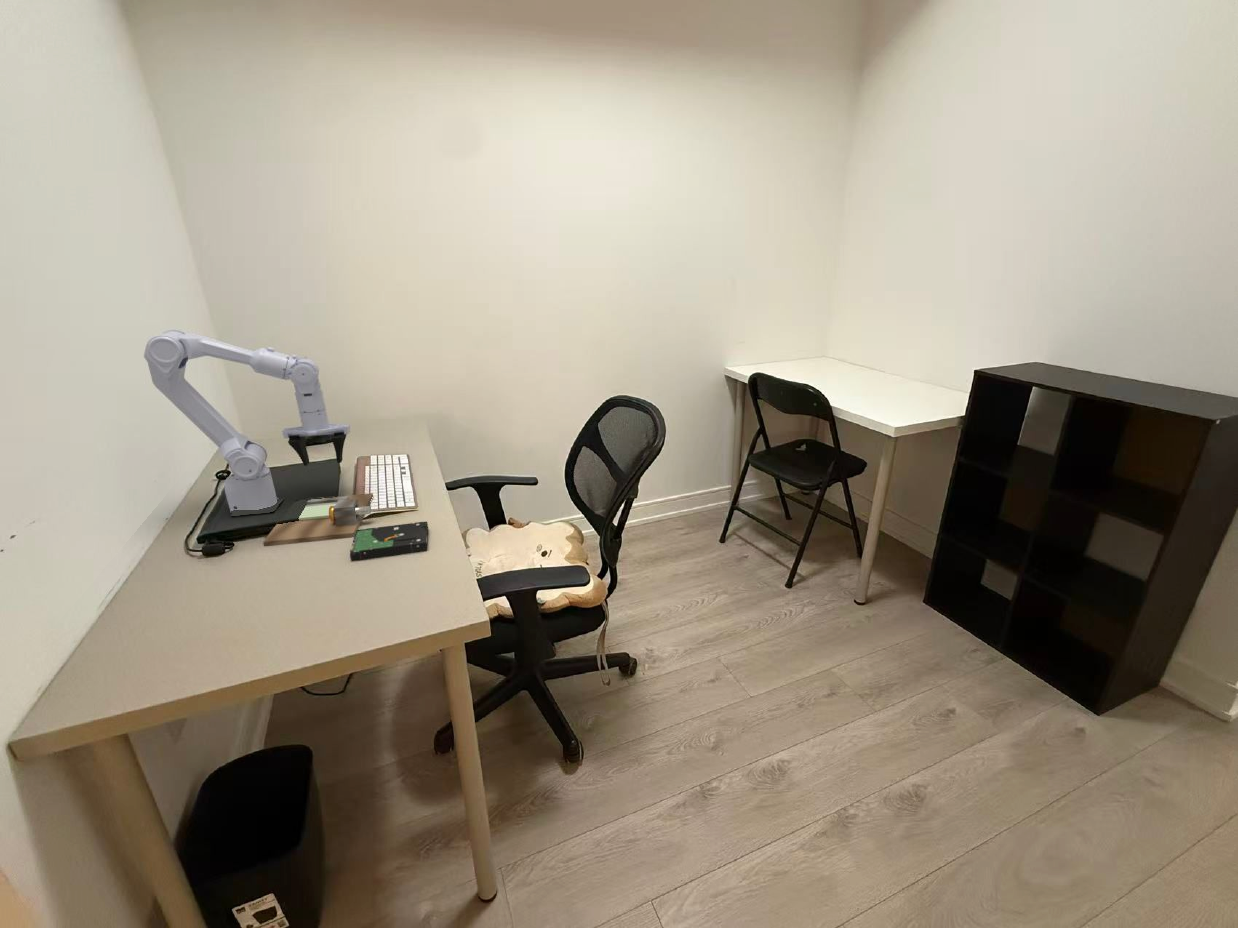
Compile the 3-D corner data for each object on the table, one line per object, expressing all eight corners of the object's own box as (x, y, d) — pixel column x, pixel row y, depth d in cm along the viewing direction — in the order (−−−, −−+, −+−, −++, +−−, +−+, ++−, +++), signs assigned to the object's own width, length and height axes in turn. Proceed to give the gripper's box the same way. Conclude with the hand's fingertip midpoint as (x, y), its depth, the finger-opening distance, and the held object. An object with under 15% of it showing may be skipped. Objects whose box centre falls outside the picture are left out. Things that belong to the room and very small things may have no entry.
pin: (330, 523, 127) (327, 509, 126) (334, 517, 130) (331, 503, 129) (369, 519, 128) (367, 506, 127) (372, 513, 131) (370, 500, 130)
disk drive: (428, 531, 127) (357, 540, 123) (427, 520, 126) (355, 528, 122) (428, 553, 118) (350, 564, 114) (426, 541, 117) (348, 551, 113)
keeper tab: (299, 521, 129) (298, 517, 129) (307, 507, 135) (306, 504, 135) (341, 517, 131) (340, 513, 131) (347, 504, 137) (346, 500, 136)
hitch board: (264, 546, 121) (258, 523, 119) (296, 503, 141) (291, 483, 139) (354, 536, 124) (349, 514, 122) (373, 496, 144) (369, 477, 142)
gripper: (273, 416, 131) (286, 471, 135) (340, 412, 133) (351, 466, 138) (283, 408, 137) (295, 461, 142) (347, 404, 140) (357, 456, 145)
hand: (323, 462), depth 141 cm, fingers open, 7 cm apart
